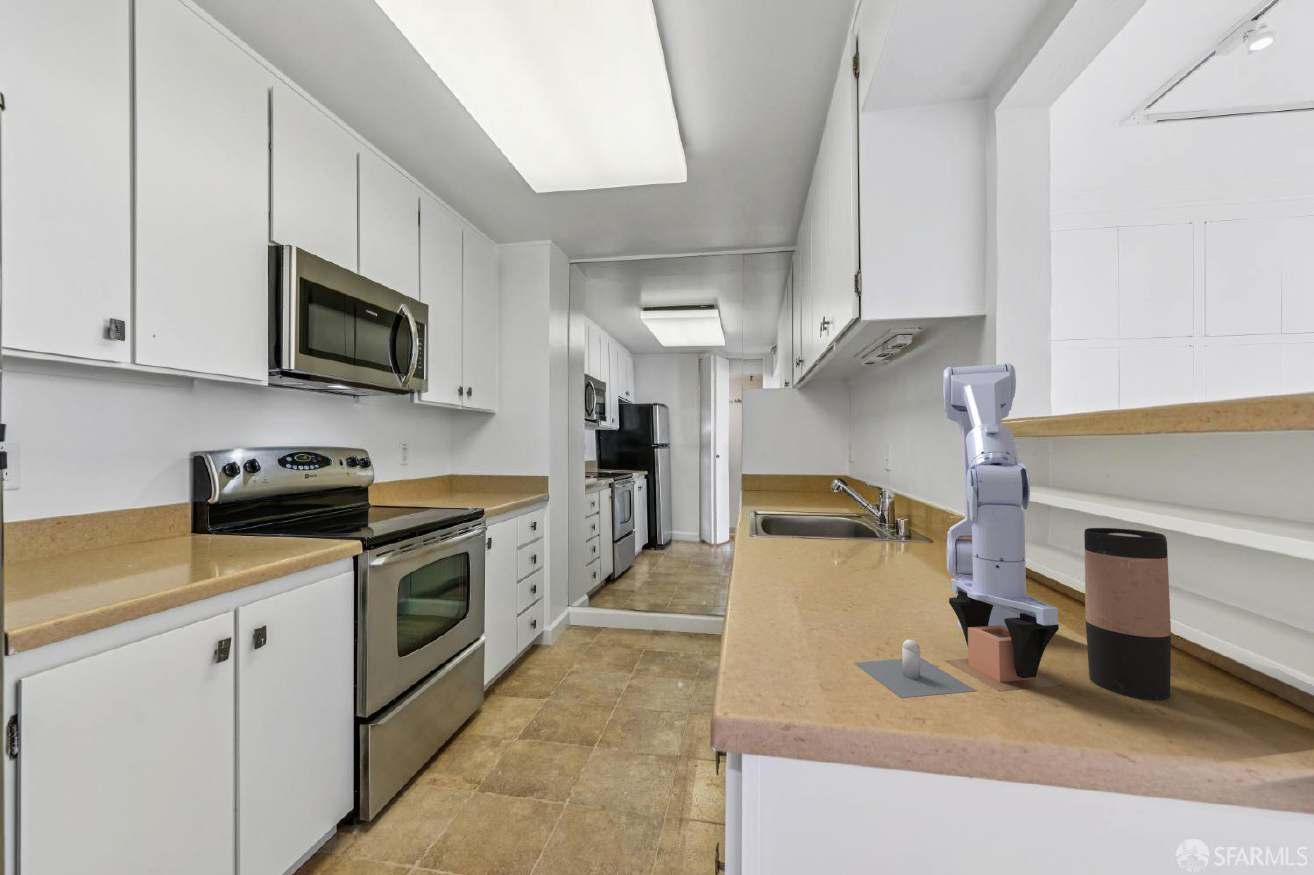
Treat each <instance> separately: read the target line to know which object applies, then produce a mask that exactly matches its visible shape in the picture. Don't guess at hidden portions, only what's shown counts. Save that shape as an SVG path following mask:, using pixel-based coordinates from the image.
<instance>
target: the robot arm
mask: <svg viewBox="0 0 1314 875" xmlns="http://www.w3.org/2000/svg"><path fill="white" fill-rule="evenodd" d="M942 374H943V377H942V378H943V380H942V383H943V384H942V385H943V386H942V392H943V402H944V403H943V404H944V406H943V407H944V412H945V414H946V418H947V419H948V420H951V421H953V422H955V423H957V425H958V428H959V431H960V434H961V437H962V438H961V440H962V445H961V446H962V464H963V465H962V468H963V470H962V471H963V494H964V495H963V496H964V497H963V498H964V519H962V520H960V521H958V522H957V523H955V524H953V525H951V526H950V527H949V529H948V531H947V533H946V535H947V536H946V537H947V538H946V568H947V573H948V574H949V575H950V576H951V577H954V578H951V593H953V594H956V597H955V596H954V597H950V598H949V597H948V598H949V599H948V603H949V605H950V607H951V608H952V610H953V611H954V613H955V615H956V617H957V618H956V619H957V620H956V621H957V626H958V627H959V628H960V629H962V632H963V635H964V639H965V641H966V642H965V643H966V646H967V647H968V627H982V626H997V625H1001V626H1004V627H1006V628H1008V631H1009V633H1010V636H1011V640H1012V644H1013V650H1014V662H1015V670H1016V674H1017V676H1018V677H1020V678H1033V677H1036V674H1037V673H1038V670H1039V666H1040V663H1041V660H1042V657H1043V654H1044V652H1045V650H1046V648H1047V646H1048V644H1049V642H1050V641H1051V640H1052V638H1053V637H1054V636H1055V634H1056V633H1057V632H1058V631H1059V630H1060V628H1059V627H1060V626H1059V609H1058V608H1059V607H1056V606H1053V605H1051V604H1048V603H1045V602H1043V601H1042V600H1039V599H1038V598H1035V597H1033V596H1032V595H1030V594H1028V593H1027V578H1026V577H1027V576H1026V574H1027V573H1026V571H1027V570H1026V534H1025V533H1026V530H1025V529H1026V525H1025V511H1024V510H1028V508H1029V505H1030V504H1029V503H1030V499H1031V482H1030V477H1029V472H1028V468H1027V465H1026V464H1025V463H1024V462H1023V460H1022V459H1019V458H1018V453H1017V448H1016V443H1015V442H1016V441H1015V439H1014V434H1013V432H1012V431H1011V430H1010V429H1009V428H1008V427H1006V426H1004V425H1002V419H1004V418H1007V417H1009V416H1010V414H1009V413H1010V411H1011V410H1012V406H1013V400H1014V398H1015V394H1016V391H1017V390H1016V387H1017V376H1016V369H1015V366H1014V365H1013V364H1011V363H1010V362H1005V363H1003V364H1002V363H1000V364H989V365H988V364H986V365H983V364H982V365H972V366H957V367H955V366H954V367H951V366H947V367H946V368H945V369H944V370H943V373H942ZM1022 508H1023V509H1024V510H1023V509H1022ZM970 538H971V539H970Z"/></svg>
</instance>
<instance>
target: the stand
mask: <svg viewBox="0 0 1314 875" xmlns="http://www.w3.org/2000/svg"><path fill="white" fill-rule="evenodd" d="M992 635H994V636H996V637H999V638H1002V637H1007V636H1005V635H1000V634H992ZM944 662H946V663H947V664H950V666H953V667H955V668H957V669H959V670H960V671H962V672H963V673H965V674H967V675H969V676H970V677H972V678H974V679H976V680H978V681H979V682H982V683H983V684H985V685H986V686H989V687H990V688H992V689H994V690H996V691H997V692H1005V691H1016V690H1017V691H1018V690H1027V689H1037V688H1038V689H1039V688H1049V687H1060V686H1064V684H1062V683H1060V682H1059V681H1056V680H1054V679H1052V678H1050V677H1047V676H1045V675H1044V674H1041V673H1039V672H1037V674H1036V677H1035V679H1029V680H1018V681H1007V682H999V681H997V680H995V679H993V678H991V677H989V676H987V675H985V674H984V673H982V672H980V671H978V670H976V669H974V668H972V667H971V666H969V658H960V659H946V660H944Z"/></svg>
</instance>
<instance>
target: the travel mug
mask: <svg viewBox="0 0 1314 875" xmlns="http://www.w3.org/2000/svg"><path fill="white" fill-rule="evenodd" d="M1083 535H1084V590H1085V591H1084V594H1085V595H1084V599H1085V600H1084V602H1085V603H1084V604H1085V605H1084V606H1085V608H1084V609H1085V610H1084V611H1085V613H1084V614H1085V632H1086V647H1087V650H1086V651H1087V661H1088V663H1087V664H1088V678H1089V680H1090V681H1091V683H1093V684H1094V685H1096V686H1098V687H1100V688H1102V689H1103V690H1106V691H1108V692H1111V693H1115V694H1117V695H1121V696H1125V697H1129V698H1135V699H1138V700H1146V701H1165V700H1167V699H1170V697H1171V668H1172V666H1171V665H1172V663H1171V662H1172V661H1171V660H1172V659H1171V658H1172V657H1171V656H1172V652H1171V651H1172V636H1171V635H1172V627H1171V626H1172V624H1171V621H1172V620H1171V605H1170V602H1171V601H1170V600H1171V598H1170V581H1169V580H1170V579H1169V561H1168V560H1169V559H1168V558H1169V557H1168V556H1169V554H1168V541H1167V540H1168V539H1167V537H1166V535H1164V534H1163V533H1159V532H1155V531H1149V530H1148V531H1147V530H1140V529H1128V528H1118V527H1117V528H1116V527H1115V528H1114V527H1112V528H1111V527H1089V528H1088V527H1087V528H1085V529H1084V534H1083Z"/></svg>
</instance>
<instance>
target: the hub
mask: <svg viewBox="0 0 1314 875" xmlns="http://www.w3.org/2000/svg"><path fill="white" fill-rule="evenodd" d="M901 649H902V651H901V652H902V655H901V656H902V658H899V659H898V658H895V659H885V660H884V659H883V660H871V661H857V662H853V664H854V665H856V667H858V668H859V669H861V670H862V671H863V672H864V673H867V675H869V676H870V677H872V678H873V679H875V680H876V682H879V683H880V684H881V685H882V686H883V687H884V688H886V689H888V690H889V691H891V692H892V693H893V694H894V695H895V696H897V697H898V698H900V699H906V698H907V699H908V698H916V697H918V698H919V697H928V696H929V697H930V696H937V695H949V694H950V695H951V694H960V693H970V692H972V693H973V692H977V691H978V690H977V689H975V688H973V687H972V686H970V685H968V684H966V683H965V682H963V681H962V680H959V679H958V678H956V677H954V676H953V675H951V674H950V673H948V672H946V671H945V670H943V669H942V668H941V669H940V668H939V667H937V666H936V665H934V664H932V663H930V662H929V661H927V660H925V659H924V658H922V657H921V648H920V645H919V643H918V642H917V640H916V641H915V640H914V639H906V640H904V641H903V643H902V646H901Z"/></svg>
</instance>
